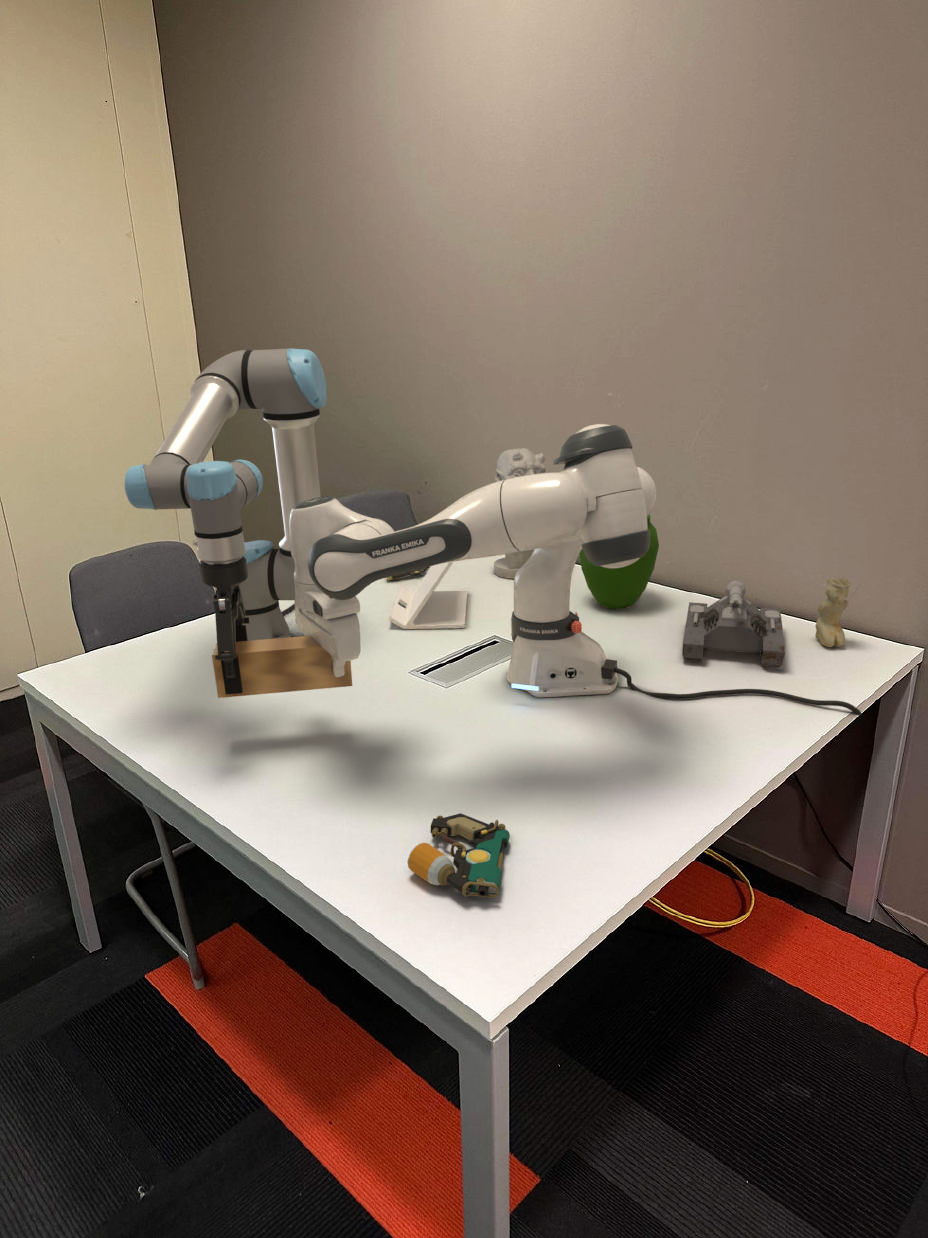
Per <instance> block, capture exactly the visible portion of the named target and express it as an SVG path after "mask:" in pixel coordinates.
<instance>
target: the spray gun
mask: <svg viewBox="0 0 928 1238" xmlns="http://www.w3.org/2000/svg"><path fill="white" fill-rule="evenodd" d="M430 834H431V837H432V838H434V839H435V838H437V837H440V839H441V840H442V841H444V842H446V843H448V844H450V855H451V857H453V860H451V859H450V857H449V856H448V855H446V854H444V853H443V852H441V850H439V849H437V848H435V847H434V846H432V845H431V844H430V843H428V842H420V843H418V844H417V845H416V846H414V847H413V848H412V849H411V851H410V853H409V855H408V858H407V867H408V869H409V870H410V871H411V873H413V874H415V875H416V876H418V877H420V878H421V879H422V880H424V881H425V882H427V883H429V884H430V885H434V886H448V885H449V886H451V887H452V888H454V889H455V890H456V891H457V892H459V893H460V894H461V895H462V896H464V897H466V898H468V897H470V896H472V897H480V898H487V899H497V898H498V896H499V893H500V888H501V883H502V877H503V872H502V865H503V860H504V850H505V849H506V848H507V849H508V845H509V843H510V842H509V841H510V837H511V836H510V831H509V830H508V829H506V825H505V824H504V823H499V820H498V819H495V820H494V822H493V821H492V822H489V823H486V822H484V821H482V820H479V819H476V818H474V817H472V816H469V815H466V814H464V813H461V812H459V813H456V814H452V815H448V816H443V815H441V814H439V815H437V816H436V818H433V819H432V821H431V824H430ZM448 836H449V837H448ZM456 836H460V837H463V838H464V839H467V840H468V845H475V846H476V847H474V848H468V849H467V846H466V845H465V844H463V843H461V842H458V841H457V840H456V839H454V838H451V837H456ZM455 847H456V850H455ZM454 866H455V867H454ZM456 869H457V872H456ZM488 893H489V894H488Z"/></svg>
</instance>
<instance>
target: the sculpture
mask: <svg viewBox="0 0 928 1238" xmlns="http://www.w3.org/2000/svg"><path fill="white" fill-rule="evenodd" d="M826 581H827V586H826V588H825V590H824V593H825V595H826V596H827V598H826V600H824V601H822V602H821V603H820V604H819V605H818V606H817V609H816V610H817V612H818V614H819V616H818V617H817V619H816V623H815V630H816V631H815V634H814V635H815V639H817V640H819V642H820V643H821V644H822V645H823V646H825V647H827V648H832V647H834V646H835V647H843V646H844V645H845V643H846V642H845V641H846V636H845V632H844V630H843V626H842V624H841V622H840V621H841V617H842V615H843V612H844V610H845V609H846V608H847V606H848V604H849V603H848V602H849V601H847V598H848V597H849V592H850V586H851V585H852V582H850V580H848V579H847V578H845V577H841V576H840V577H835V578H831V577H827V578H826Z"/></svg>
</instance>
